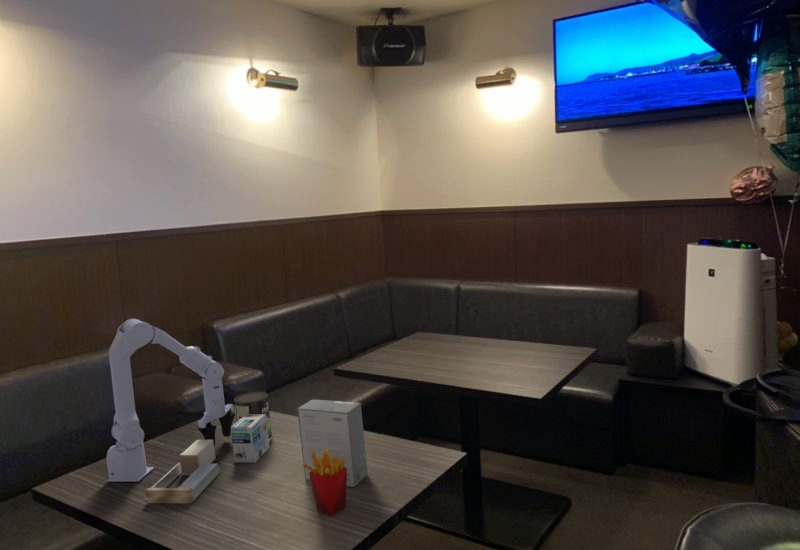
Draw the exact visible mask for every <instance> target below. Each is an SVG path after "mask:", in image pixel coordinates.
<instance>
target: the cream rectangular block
mask: <svg viewBox="0 0 800 550" xmlns="http://www.w3.org/2000/svg"><path fill="white" fill-rule="evenodd" d="M179 458H180V464H181V472H182V473H181V474H182V475H183V476H185V475H186V476H190V475H192V474H193V473H194V472H195V471H196V470H197V469H198V468H199V467H200V466H201V465H202V464H213V462H214V461H215V460H216V451H215V446H214V443H213V440H205V439H196V440H195V441H193V443H192V444H190V445H189V447H187V448H186V449H185V450H184V451H183V452H181V453H180V454H179Z"/></svg>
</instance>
